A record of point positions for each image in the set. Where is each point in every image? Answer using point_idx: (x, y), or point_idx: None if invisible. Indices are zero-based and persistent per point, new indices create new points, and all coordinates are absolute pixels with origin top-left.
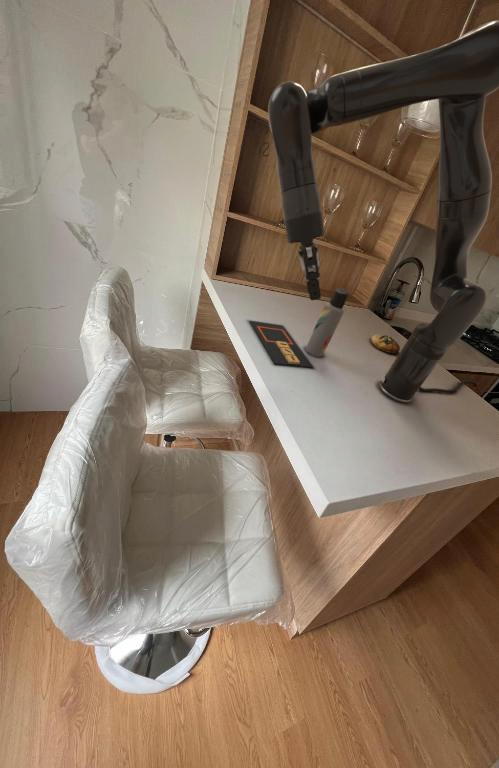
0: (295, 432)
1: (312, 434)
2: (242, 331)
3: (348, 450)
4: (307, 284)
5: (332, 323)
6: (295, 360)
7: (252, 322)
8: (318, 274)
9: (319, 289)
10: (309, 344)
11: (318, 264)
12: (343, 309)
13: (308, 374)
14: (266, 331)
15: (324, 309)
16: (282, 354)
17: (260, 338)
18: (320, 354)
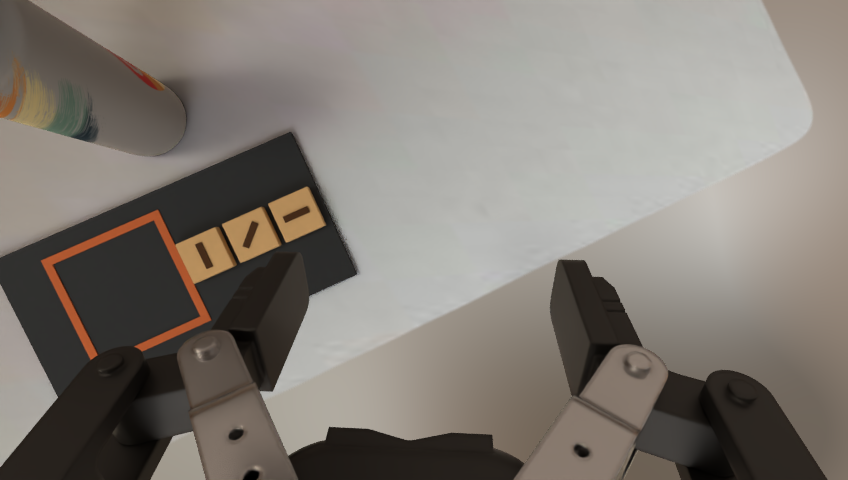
0: (658, 197)
1: (646, 152)
2: None
3: (664, 57)
4: (290, 343)
5: (86, 55)
6: (306, 204)
7: None
8: (769, 401)
9: (598, 295)
10: (150, 148)
11: (629, 447)
12: None
13: (347, 151)
14: (117, 327)
15: (10, 107)
16: (273, 251)
17: None
18: (175, 96)
